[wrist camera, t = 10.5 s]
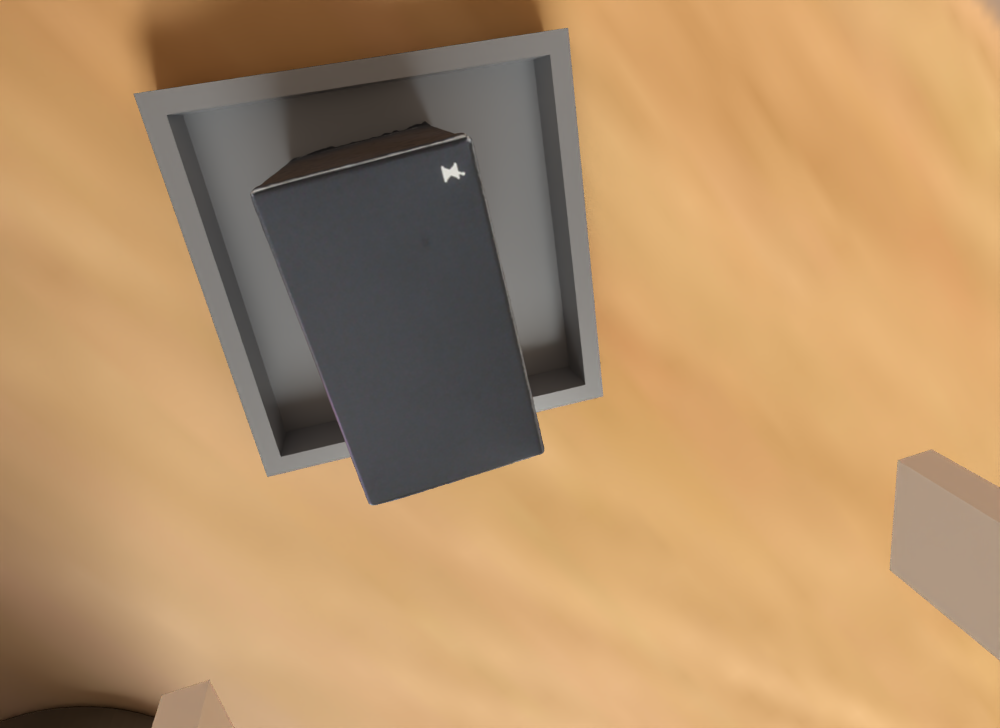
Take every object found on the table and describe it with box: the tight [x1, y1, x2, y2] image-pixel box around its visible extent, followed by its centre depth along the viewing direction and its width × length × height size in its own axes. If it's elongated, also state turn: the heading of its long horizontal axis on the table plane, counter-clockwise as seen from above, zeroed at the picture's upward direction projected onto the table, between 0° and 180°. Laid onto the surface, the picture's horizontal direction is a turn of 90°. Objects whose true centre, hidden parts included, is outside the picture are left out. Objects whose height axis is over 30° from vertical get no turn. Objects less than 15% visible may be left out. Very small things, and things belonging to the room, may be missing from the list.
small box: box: [250, 121, 544, 505], centre depth 23 cm, size 11×6×10 cm, turn 14°
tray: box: [134, 28, 603, 477], centre depth 27 cm, size 16×16×3 cm
